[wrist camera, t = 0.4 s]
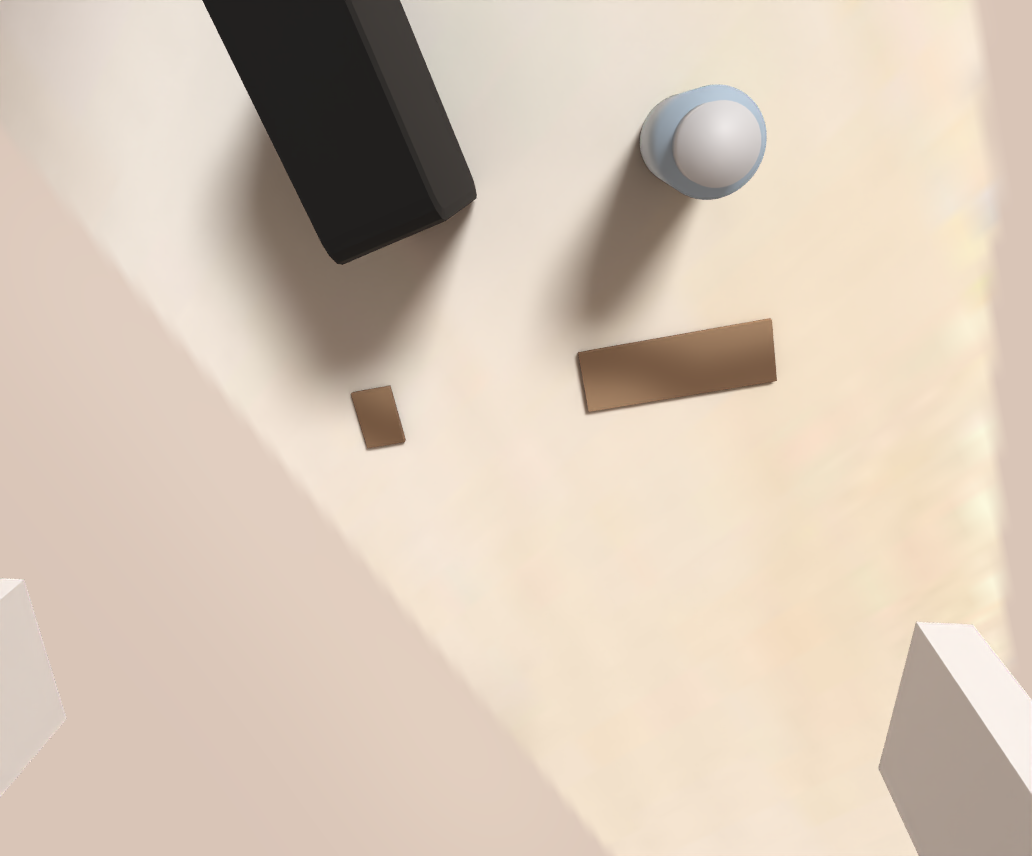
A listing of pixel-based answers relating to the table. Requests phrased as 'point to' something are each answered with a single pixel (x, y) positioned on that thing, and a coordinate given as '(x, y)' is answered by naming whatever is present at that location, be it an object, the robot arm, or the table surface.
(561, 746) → the table surface
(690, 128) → the marker peg
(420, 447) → the table surface
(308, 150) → the electronic device
